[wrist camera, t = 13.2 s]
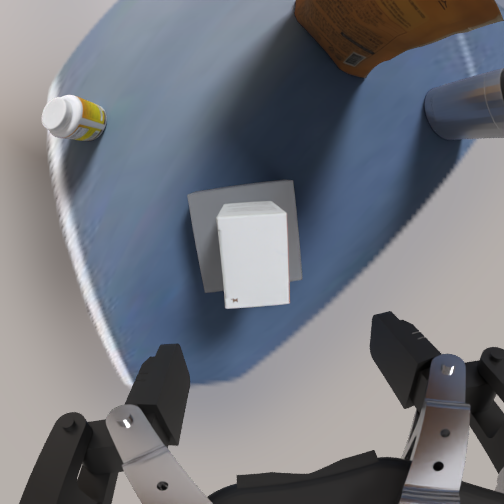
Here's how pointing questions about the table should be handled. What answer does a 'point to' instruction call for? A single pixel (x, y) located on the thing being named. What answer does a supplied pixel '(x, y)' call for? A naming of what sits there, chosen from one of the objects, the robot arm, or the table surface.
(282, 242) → the small box
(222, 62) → the table surface
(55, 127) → the supplement bottle
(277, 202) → the base block
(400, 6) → the pancake mix bag
